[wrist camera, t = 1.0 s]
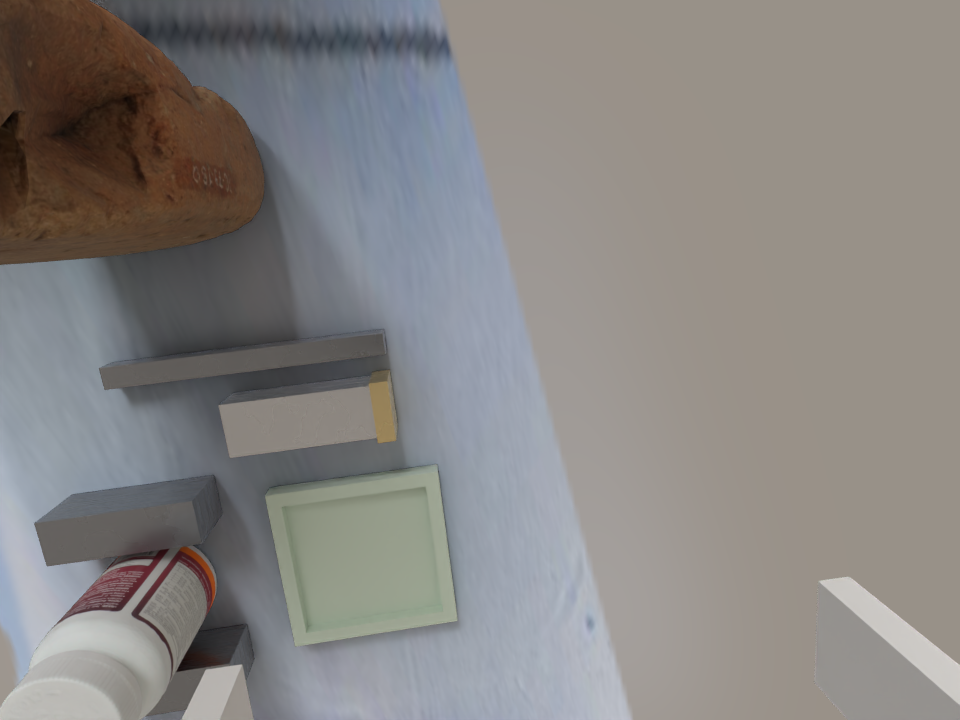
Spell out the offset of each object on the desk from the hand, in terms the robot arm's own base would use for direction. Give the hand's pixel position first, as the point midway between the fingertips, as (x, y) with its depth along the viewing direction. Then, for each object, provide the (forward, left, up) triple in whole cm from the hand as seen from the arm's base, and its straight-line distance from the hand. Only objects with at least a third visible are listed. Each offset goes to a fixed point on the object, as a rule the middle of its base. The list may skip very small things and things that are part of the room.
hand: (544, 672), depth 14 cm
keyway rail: (-4, -12, -23) cm, 26 cm away
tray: (+9, -7, -23) cm, 26 cm away
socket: (+9, -19, -23) cm, 31 cm away
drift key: (-1, -9, -23) cm, 25 cm away
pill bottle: (+9, -19, -23) cm, 31 cm away
